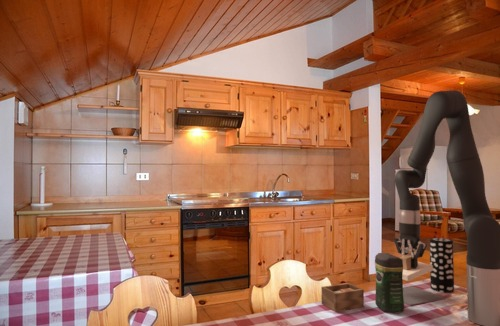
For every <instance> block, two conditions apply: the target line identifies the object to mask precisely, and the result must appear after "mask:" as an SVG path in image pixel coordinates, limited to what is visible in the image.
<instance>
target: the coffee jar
mask: <svg viewBox="0 0 500 326" xmlns="http://www.w3.org/2000/svg"><path fill="white" fill-rule="evenodd" d="M399 257H400V256H396V255H393V254H391V253H390V252H378V253H377V254H376V255H375V256H374V267H375V305H376V306H377V308H379V309H381V310H382V311H384V312H387V313H392V314H399V313H401V312H402V313H403V312H404V311H405V303H404V299H403V288H404V285H403V279H402V274H403V260H402V259H400V258H399Z"/></svg>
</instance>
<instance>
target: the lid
mask: <svg viewBox="0 0 500 326" xmlns="http://www.w3.org/2000/svg"><path fill="white" fill-rule="evenodd" d="M414 255H415V254H414ZM398 257H399V258H400V259H402V260H403V274H402V280H404V281H406V282H410V281H412V280H414V279H416V278H419V277H422V276H423V275H426V274H428V273H430V272H431V271H433V265H430V263H427V262H426V263H425V262H421V261H418V259H417V267H416V268H411V253H410V252H409V254H406V255H403V256H402V255H401V256H398Z"/></svg>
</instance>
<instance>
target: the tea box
mask: <svg viewBox="0 0 500 326" xmlns="http://www.w3.org/2000/svg"><path fill="white" fill-rule="evenodd" d="M320 290H321V305H322V306H325V307H326V308H328V309H329V310H331V311H333V312H334V313H339V312H342V311H343V312H344V311H348V310H349V311H350V310H355V309H360V308H364V307H365V303H364V302H365V301H364V299H365V297H364V296H365V295H364V293H365V292H364V291H365V289H363V288H361V287H359V286H357V285H355V284H352V283H350V282H345V283H338V284H332V285H325V286H321V289H320Z"/></svg>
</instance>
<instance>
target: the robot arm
mask: <svg viewBox="0 0 500 326" xmlns="http://www.w3.org/2000/svg"><path fill="white" fill-rule="evenodd" d="M443 119H445V120H446V123H447V126H448V130H449V141H448V145H447V150H446V156H445V157H446V158H445V159H446V164H447V166H448V171H449V173H450V177H451V180H452V184H453V186H454V189H455V191H456V194H457V195H458V198H459V201H460V205H461V207H460V208H461V212H462V219H463V226H464V231H465V234H466V241H467V242H466V248H467V250H466V257H465V259H466V260H465V261H466V292H467V293H466V294H467V319H468V320H469V321H470V322H472V323H475V324H477V325H480V326H500V222H499V221H498V220H496V219H495V218H494V217H493V216H494V215H492V212H491V209H490V207H489V204H488V202H487V196H486V187H485V174H484V169H483V165H482V162H481V158H480V154H479V152H478V148H477V146H476V145H477V144H476V141H475V137H474V133H473V130H472V125H471V118H470V113H469V107H468V102H467V99H466V97H465V94H464V93H462V92H461V91H459V90H456V89H453V90H451V89H450V90H440V91H435V92H433V93H431V94H430V96H429V97H428V98H427V101H426V104H425V107H424V110H423V114H422V118H421V122H420V125H419V130H418V133H417V137H416V140H415V142H414V144H413V146H412V149H411V151H410V154H409V156H408V158H407V160H406V161H407V162H406V163H407V165H408V166H409V167H410V168H412V169H400V170H398V171H397V172H396V173H395V175H394V184H395V187H396V191H397V195H398V198H399V210H398V211H399V213H398V233H399V234H400V235H399V237H394V238H393V241H394V244H395V248H396V250H397V253H398V254H400V255H401V256H403V255H406V254H409V253H411V268H416V267H417V260H418V259H419V258H423V256H424V254H425V251H426V249H427V246H428V244H427V242H425V243H424V242H422V241H421V238H420V236H421V232H422V231H421V211H420V208H421V207H420V206H421V203H420V197H419V195H417V194H414V193H411V191H410V189H420V188H421V187H422V186H424V184H425V181H426V177H427V170H428V169H427V168H428V165H429V163H430V161H431V159H432V157H433V155H434V151H435V150H436V133H437V129H438V128H439V126H440V124H441V123H442V121H443ZM414 254H415V255H414Z"/></svg>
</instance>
